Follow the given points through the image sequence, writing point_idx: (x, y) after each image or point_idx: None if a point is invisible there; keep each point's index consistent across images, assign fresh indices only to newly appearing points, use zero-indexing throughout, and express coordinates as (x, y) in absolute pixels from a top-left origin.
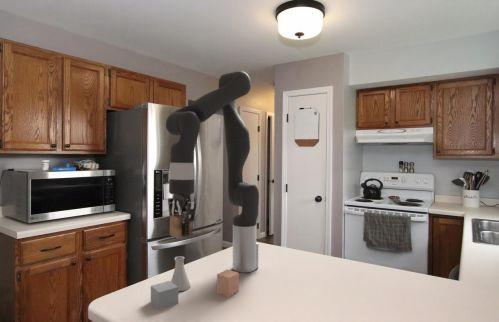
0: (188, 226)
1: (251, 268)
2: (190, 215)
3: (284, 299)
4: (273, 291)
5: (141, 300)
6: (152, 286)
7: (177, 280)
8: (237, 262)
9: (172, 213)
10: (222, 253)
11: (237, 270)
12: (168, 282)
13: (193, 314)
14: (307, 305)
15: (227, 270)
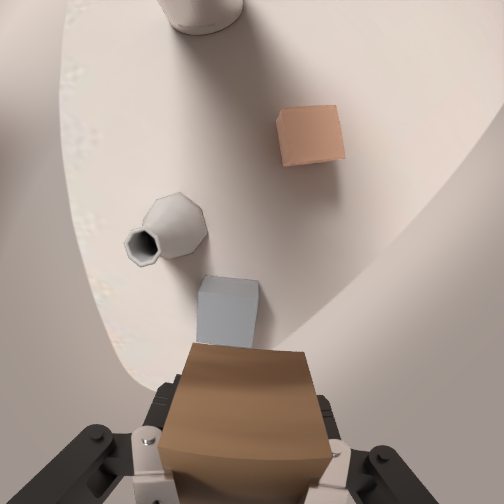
0: (336, 433)
1: (241, 4)
2: (290, 460)
3: (422, 93)
4: (381, 69)
5: (182, 330)
6: (204, 341)
7: (182, 248)
8: (205, 19)
9: (108, 472)
10: (75, 12)
11: (209, 32)
12: (208, 300)
13: (330, 284)
14: (459, 95)
15: (289, 114)
